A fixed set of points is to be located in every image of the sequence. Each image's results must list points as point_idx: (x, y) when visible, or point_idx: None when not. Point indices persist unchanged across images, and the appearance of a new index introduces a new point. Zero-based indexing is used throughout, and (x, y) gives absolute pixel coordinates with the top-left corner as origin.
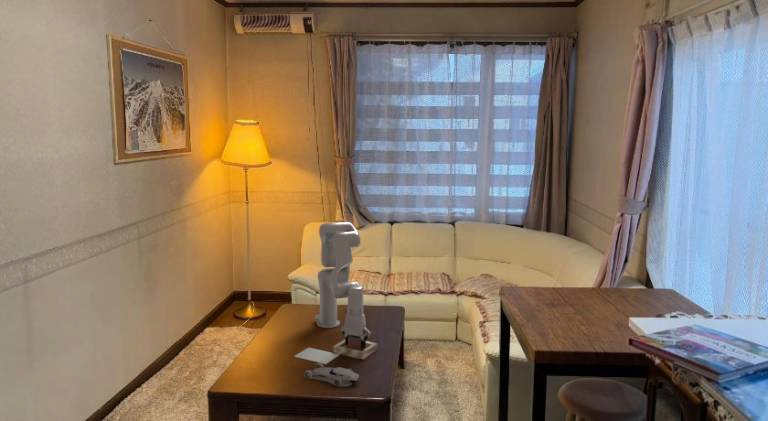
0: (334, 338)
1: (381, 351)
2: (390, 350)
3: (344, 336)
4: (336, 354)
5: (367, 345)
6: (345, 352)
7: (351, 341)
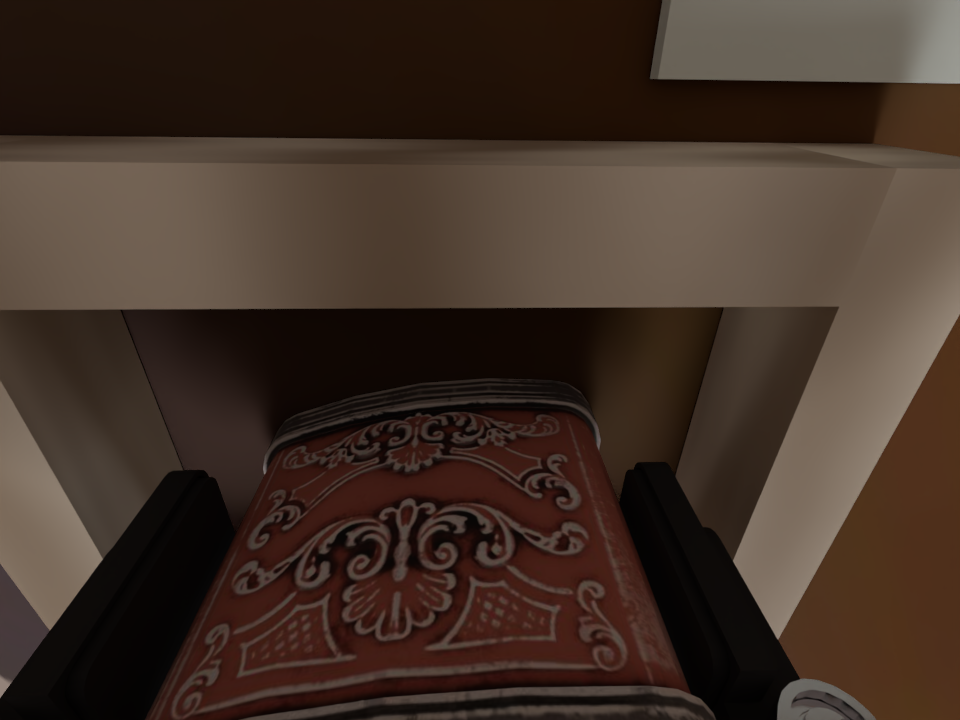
0: (936, 626)
1: None
2: (3, 652)
3: (852, 709)
4: (749, 22)
5: None
6: (505, 148)
7: (503, 581)
